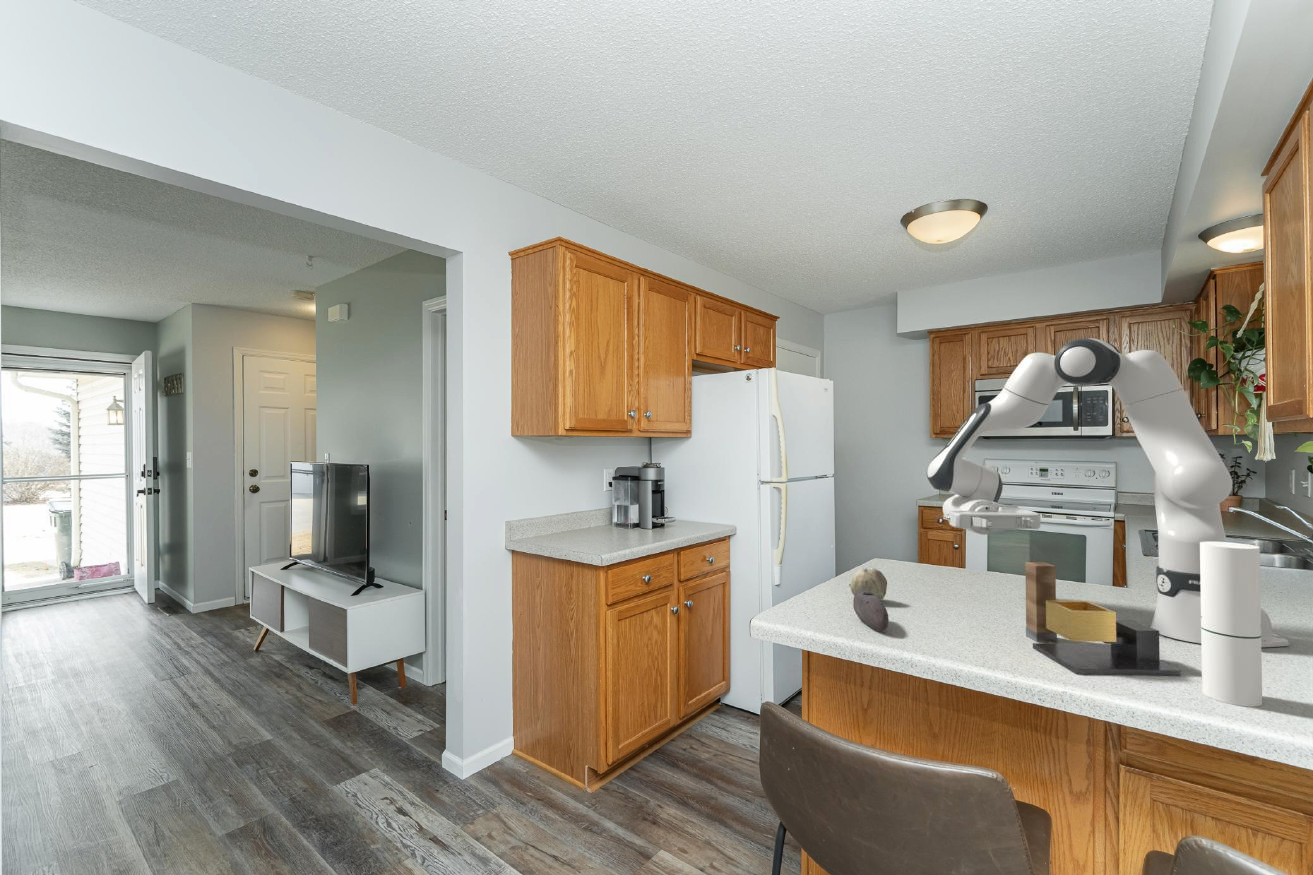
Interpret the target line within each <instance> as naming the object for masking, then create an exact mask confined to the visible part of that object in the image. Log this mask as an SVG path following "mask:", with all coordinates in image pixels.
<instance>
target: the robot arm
mask: <svg viewBox="0 0 1313 875" xmlns="http://www.w3.org/2000/svg"><path fill="white" fill-rule="evenodd" d="M1067 384H1070V385H1075V386H1076V385H1077V386H1084V387H1091V386H1092V387H1093V386H1099V385H1103V384H1106V385H1109V386H1111V387H1112V388H1113V390H1114V391H1115V392H1116V394H1117V396H1118V398H1119V400H1120V403H1121V405H1122V407H1123V410H1124V411H1125V414H1126V416H1127V419H1128V421H1129V423H1130V426H1131V428H1132V430H1133V432H1134V434H1135V436H1136V438H1137V440H1138V442H1139V444H1140V446H1141V447H1142V449H1143V451H1144V453H1145V456H1146V457H1147V458H1148V460H1149V463H1150V465H1151V466H1152V469H1153V470H1154V472H1153V491H1154V492H1153V494H1154V506H1155V515H1156V516H1155V517H1156V522H1157V524H1156V525H1157V537H1158V538H1157V542H1158V544H1157V545H1158V548H1157V549H1158V565H1156V567H1155V568H1156V569H1155V579H1156V580H1155V583H1156V588H1157V597H1156V598H1157V599H1156V606H1155V609H1154V614H1153V618H1152V621H1151V624H1150V626H1149V627H1151V628H1153V629H1156V630H1158V631H1159V635H1161V636H1165V637H1168V638H1171V639H1175V640H1178V641H1179V640H1180V641H1185V642H1190V643H1195V644H1201V587H1200V542H1227V537H1226V532H1225V528H1224V524H1223V518H1222V513H1221V512H1222V511H1221V503H1222V502H1223V501H1225V500H1226V499H1227V498H1228V497H1229V495H1230V494H1231V492H1232V491H1233V490H1232V489H1233V478H1232V476H1231V474H1230V472H1229V470H1228V468H1227V467H1226V465H1225V463H1224V461H1223V460H1222V458H1221V456H1220V454H1219V452H1218V451H1217V448H1216V447H1215V446H1214V444H1213V442H1212V441H1211V439H1210V438H1209V436H1208V434H1207V432H1206V431H1205V430H1204V428H1203V426H1202V425H1201V424H1200V423H1201V422H1200V421H1199V419H1198V417H1197V414H1196V413H1195V410H1194V408H1193V406H1192V405H1191V402H1190V400H1189V398H1188V396H1187V393H1186V392H1185V390H1184V387H1183V386H1182V383H1181V380H1180V379H1179V377H1178V376H1177V374H1176V373H1175V371H1174V370H1173V368H1172V366H1171V365H1170V364H1169V362H1168V361H1167V360H1166V359H1165V358H1164V356H1163V355H1162V354H1161V353H1160V352H1158V351H1156V350H1153V349H1140V350H1135V351H1132V352H1129V353H1121V352H1120V351H1119V349H1118V347H1116V346H1115V345H1113V344H1111V343H1109V342H1106V341H1104V340H1101V339H1097V338H1091V337H1090V338H1077V339H1073V340H1071V341H1069V342H1067V343H1065V344H1064V345H1062V347H1060V349H1059V350H1058V351H1057V352H1056V354H1055V355H1053V354H1050V353H1046V352H1033V353H1029V354H1027V355H1026V356H1024V357H1023V359H1022V360H1021V361H1020V363H1019V364H1018V365H1017V366H1016V368H1015V369H1014V370H1013V371H1012V373H1011V374H1010V376H1009V377H1008V379H1007V381H1006V383H1005V384H1004V385H1003V388H1002V389H1001V391H1000V392H999V393H998V394H997V396H995V397H994V398H993V399H991V400H990V401H988V402H985V403H984V402H983V403H981V404H979V405H978V406H977V407H976V408H975V409H974V410H973V411H972V412H971V413H970V414H969V416H968V417H967V418H966V419H965V420H964V422H963V423H962V424H961V425H960V427H959V428H958V430H957V431H956V432H955V433H954V435H953V436H951V438H950V439H949V441H948V442H947V444H946V445H945V446H944V447H943V448H942V450H941V451H940V452H939V453H937V454H936V455H935V457H934V458H932V460H931V461H930V463H929V465H928V466H927V470H926V478H927V480H928V482H929V484H930V485H931V486H932V487H933V489H934V490H937V491H943V492H946V493H951V494H954V495H952V496H951V497H948V498H947V499H946V500H945V501H944V502H943V505H942V513H943V516H942V519H943V520H945V521H946V520H947V521H948V523H949V525H950V526H951V527H953V528H957V529H963V530H967V531H969V532H972V533H974V534H978V535H981V536H982V535H991V534H995V533H999V532H1009V531H1018V530H1019V529H1021V530H1025V529H1027V530H1039V529H1040V528H1041V522H1042V521H1041V515H1040V514H1039V513H1038V512H1035V511H1031V510H1028V509H1025V508H1021V507H1019V506H1018V505H1017V504H1011V503H1010V504H1009V503H1001V502H1000V503H999V501H1000V498H1001V496H1002V493H1003V488H1004V486H1003V481H1002V477H1001V475H1000V473H999V472H998V470H996V469H995V468H992V467H989V466H986V465H982V464H979V463H976V462H974V461H973V462H972V461H970V460H967V459H964V458H963V456H965V454H966V453H967V452H968V450H969V449H970V448H971V447H972V446H973V444H974V443H975V442H976V441H977V439H978V438H979V437H980V436H981V435H983V434H985V433H987V432H992V431H997V430H998V431H999V430H1021V429H1024V428H1029V427H1031V426H1033V425H1035V424H1036V423H1038V422H1040V420H1041V419H1042V418H1043V416H1044V415H1045V413H1046V412H1047V410H1048V409H1049V407H1050V405H1051V403H1052V401H1053V400H1054V398H1055V396H1056V395H1057V393H1058V391H1059V390H1061V388H1062V387H1064V386H1065V385H1067ZM1260 625H1261V648H1274V647H1275V648H1277V647H1288V646H1290V643H1289V640H1288V639H1286V638H1285V637H1283V636H1282V635H1281V636H1280V635H1278V634H1276V633H1274V632H1273V627H1272V622H1271V617H1270V616H1269V614H1268V613H1267V612H1266V611H1265V610H1264V609H1262V608H1261V624H1260Z"/></svg>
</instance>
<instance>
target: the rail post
mask: <svg viewBox="0 0 1313 875" xmlns="http://www.w3.org/2000/svg"><path fill="white" fill-rule="evenodd" d="M1024 564H1025V572H1024V573H1025V575H1024V576H1025V636H1026V637H1027V638H1029V639H1031V640H1033V641H1034V642H1035V643H1058V638H1057V637H1058V634H1056V633H1055V632H1053V631H1051V630H1049V629H1047V628H1046V601H1057V590H1056V589H1057V588H1056V587H1057V584H1056V581H1057V580H1056V579H1057V578H1056V576H1057V575H1056V573H1057V572H1056V565H1053V564H1050V563H1047V562H1045V561H1043V562H1040V561H1035V562H1033V561H1031V562H1029V561H1028V562H1027V561H1025V563H1024Z"/></svg>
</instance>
